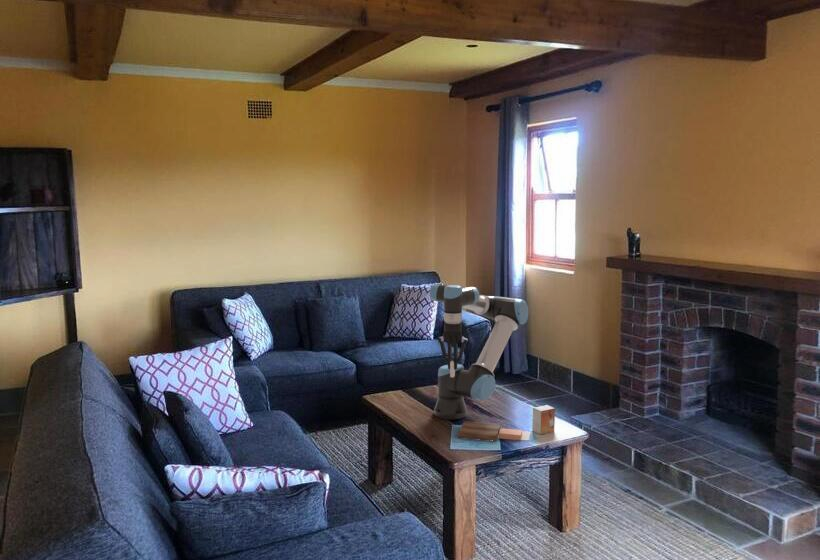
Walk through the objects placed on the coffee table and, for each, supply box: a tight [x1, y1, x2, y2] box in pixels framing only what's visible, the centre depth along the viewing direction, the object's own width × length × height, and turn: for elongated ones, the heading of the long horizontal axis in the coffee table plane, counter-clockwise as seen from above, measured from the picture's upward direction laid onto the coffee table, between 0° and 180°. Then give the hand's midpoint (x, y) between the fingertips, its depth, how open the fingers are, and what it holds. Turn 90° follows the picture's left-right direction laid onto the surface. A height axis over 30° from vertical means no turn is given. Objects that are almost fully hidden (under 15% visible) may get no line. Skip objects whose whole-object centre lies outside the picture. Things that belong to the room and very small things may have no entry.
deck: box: [457, 420, 502, 442], centre depth 283 cm, size 14×16×2 cm
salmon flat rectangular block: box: [498, 427, 523, 441], centre depth 279 cm, size 9×6×2 cm, turn 74°
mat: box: [497, 429, 532, 442], centre depth 281 cm, size 10×13×1 cm
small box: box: [531, 404, 556, 435], centre depth 285 cm, size 8×6×10 cm
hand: (452, 376), depth 283 cm, fingers closed
